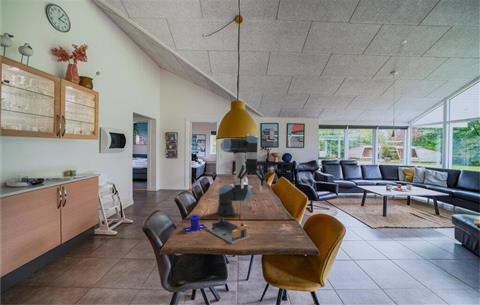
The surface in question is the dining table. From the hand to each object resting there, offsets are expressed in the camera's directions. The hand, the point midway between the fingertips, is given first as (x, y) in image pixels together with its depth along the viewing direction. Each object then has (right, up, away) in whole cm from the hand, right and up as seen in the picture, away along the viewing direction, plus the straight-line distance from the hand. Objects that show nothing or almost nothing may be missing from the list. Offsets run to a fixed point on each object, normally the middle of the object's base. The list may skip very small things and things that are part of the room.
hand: (251, 189), depth 144 cm
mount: (-39, -28, +2) cm, 48 cm away
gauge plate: (-16, -28, -5) cm, 33 cm away
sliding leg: (-8, -27, -12) cm, 31 cm away
